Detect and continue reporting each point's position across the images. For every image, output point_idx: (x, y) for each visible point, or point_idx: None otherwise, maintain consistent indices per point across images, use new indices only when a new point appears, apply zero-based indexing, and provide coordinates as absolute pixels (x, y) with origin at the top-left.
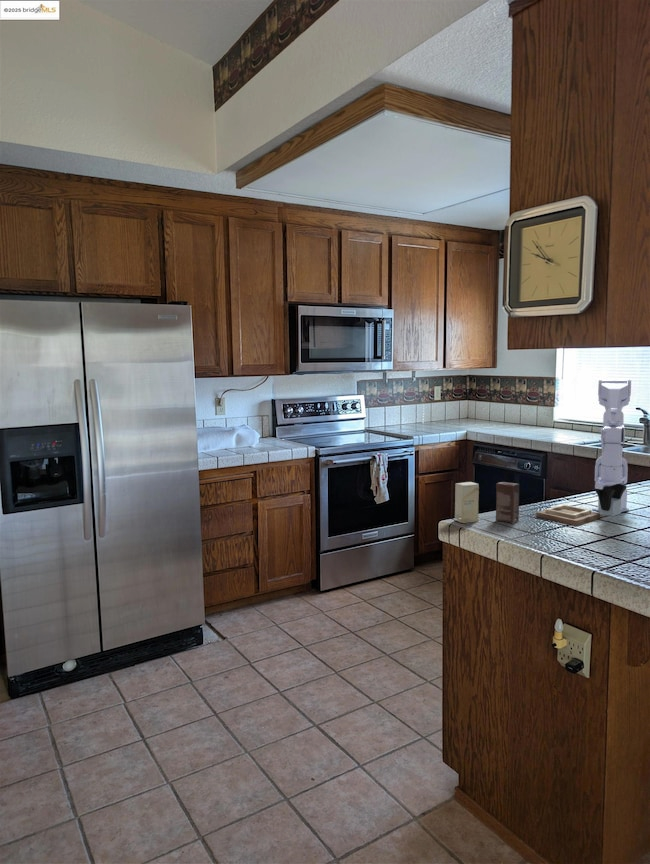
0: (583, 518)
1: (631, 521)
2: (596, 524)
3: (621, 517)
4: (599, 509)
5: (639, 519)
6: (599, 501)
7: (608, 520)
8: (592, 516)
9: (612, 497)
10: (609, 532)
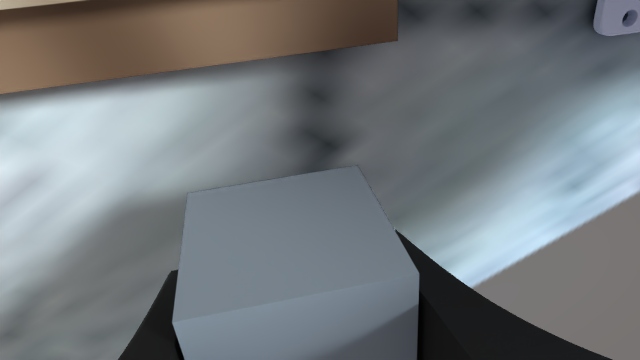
0: (19, 84)
1: (467, 229)
2: (140, 162)
3: (536, 118)
4: (186, 226)
5: (561, 219)
6: (178, 295)
7: (359, 126)
8: (220, 62)
9: (428, 336)
10: (48, 348)
